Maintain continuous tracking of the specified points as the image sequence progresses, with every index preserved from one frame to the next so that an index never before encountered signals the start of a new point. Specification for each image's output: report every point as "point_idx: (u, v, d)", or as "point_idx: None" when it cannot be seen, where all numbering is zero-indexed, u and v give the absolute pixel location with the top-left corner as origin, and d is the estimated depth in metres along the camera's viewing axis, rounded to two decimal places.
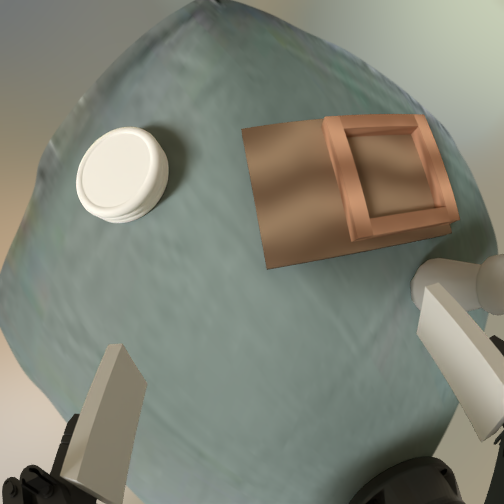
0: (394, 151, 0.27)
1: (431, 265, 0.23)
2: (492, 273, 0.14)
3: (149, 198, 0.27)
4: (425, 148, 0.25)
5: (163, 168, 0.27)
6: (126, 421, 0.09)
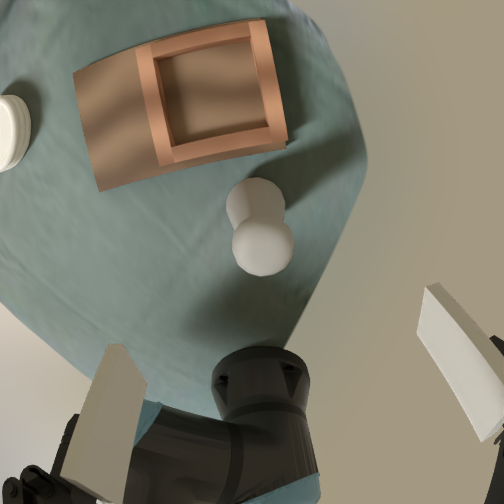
0: (221, 64, 0.23)
1: (239, 189, 0.27)
2: (236, 239, 0.19)
3: (18, 151, 0.24)
4: (256, 61, 0.22)
5: (22, 124, 0.23)
6: (126, 421, 0.09)
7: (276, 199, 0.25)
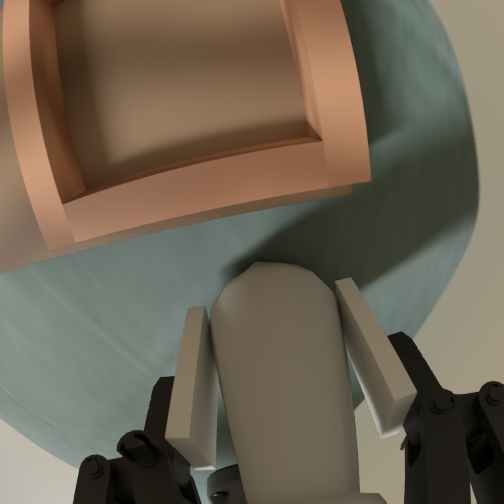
0: None
1: (237, 308, 0.10)
2: None
3: None
4: None
5: None
6: (212, 381, 0.11)
7: (336, 350, 0.09)
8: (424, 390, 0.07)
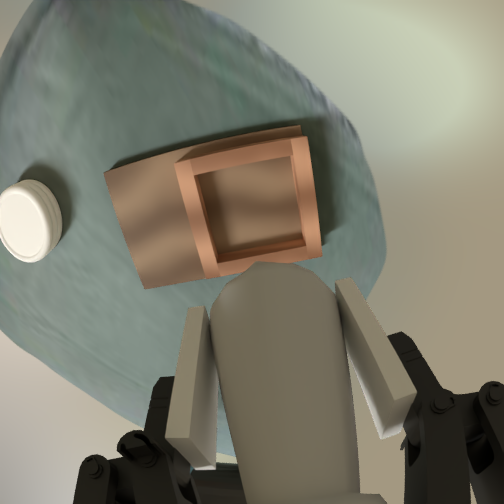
0: (261, 178, 0.28)
1: (237, 308, 0.10)
2: None
3: (52, 243, 0.29)
4: (297, 182, 0.26)
5: (53, 217, 0.28)
6: (212, 381, 0.11)
7: (337, 350, 0.09)
8: (424, 390, 0.07)
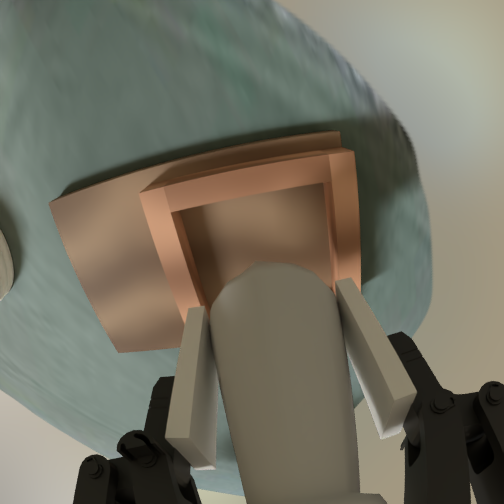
0: (277, 213, 0.18)
1: (237, 308, 0.10)
2: None
3: (3, 290, 0.19)
4: (334, 222, 0.17)
5: None
6: (212, 381, 0.11)
7: (337, 349, 0.09)
8: (424, 390, 0.07)
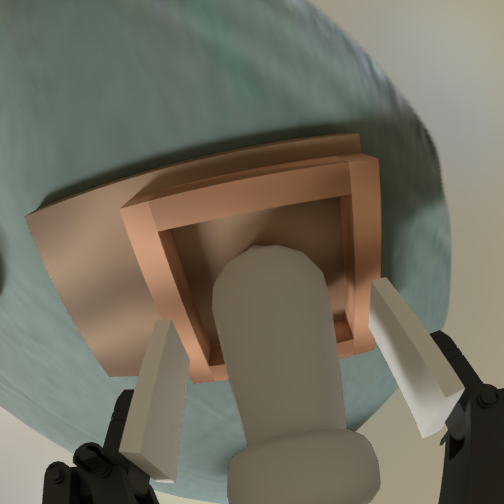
0: (285, 229, 0.15)
1: (237, 281, 0.12)
2: None
3: None
4: (352, 242, 0.14)
5: None
6: (177, 395, 0.11)
7: (323, 315, 0.11)
8: (467, 386, 0.07)
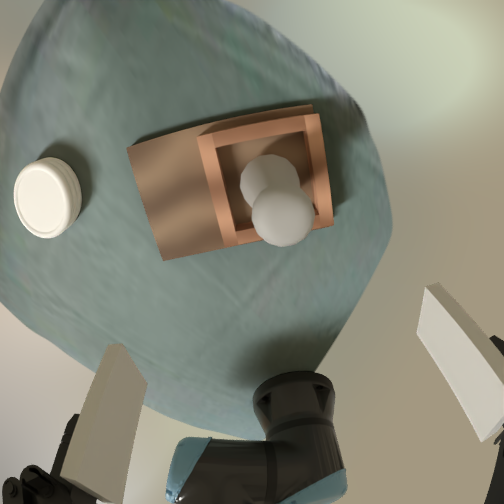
0: (276, 152, 0.29)
1: (253, 165, 0.26)
2: (257, 208, 0.19)
3: (71, 218, 0.31)
4: (310, 155, 0.28)
5: (74, 192, 0.29)
6: (126, 421, 0.09)
7: (292, 174, 0.25)
8: None
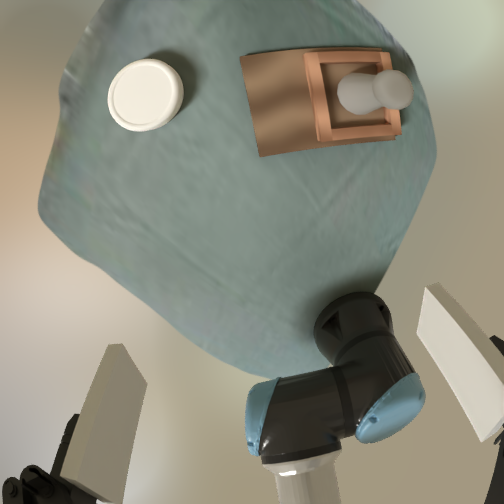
0: None
1: (351, 75, 0.29)
2: (381, 78, 0.22)
3: (173, 112, 0.34)
4: None
5: (180, 89, 0.32)
6: (127, 421, 0.09)
7: None
8: None
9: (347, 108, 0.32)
